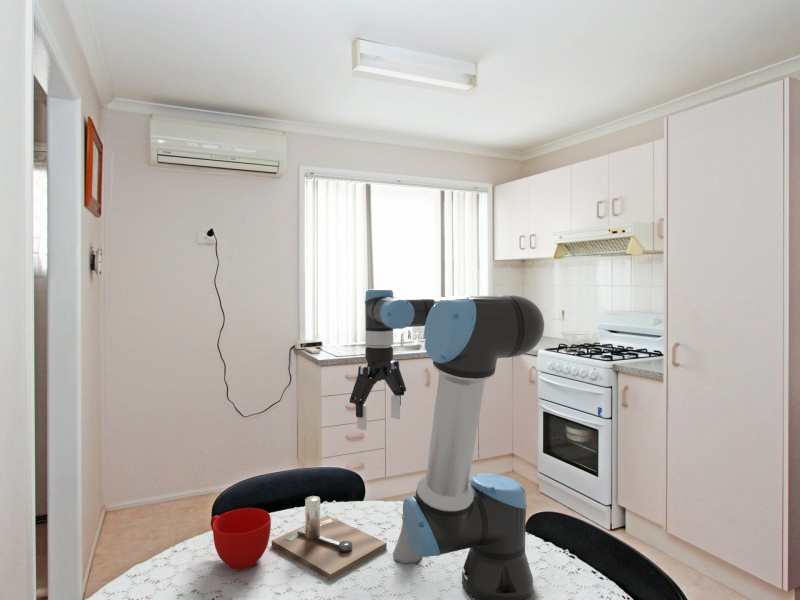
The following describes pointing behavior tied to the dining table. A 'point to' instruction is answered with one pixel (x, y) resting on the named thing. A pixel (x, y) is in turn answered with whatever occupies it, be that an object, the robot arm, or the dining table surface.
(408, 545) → the flask
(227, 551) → the ceramic cup
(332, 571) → the board
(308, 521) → the metal crank handle
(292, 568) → the dining table surface
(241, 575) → the dining table surface
